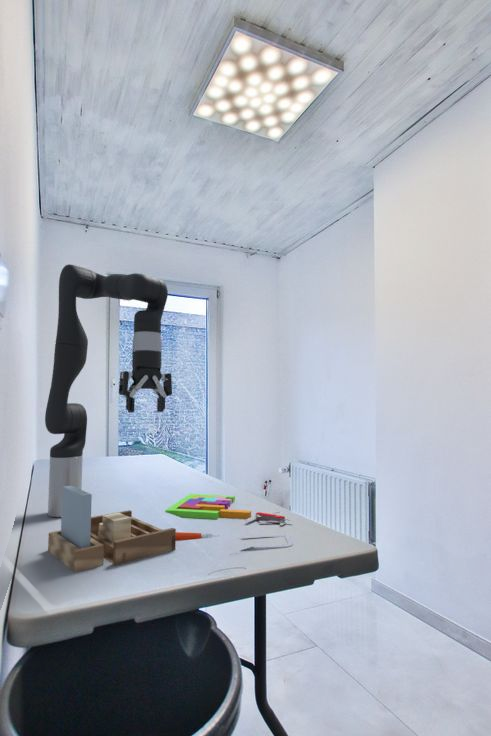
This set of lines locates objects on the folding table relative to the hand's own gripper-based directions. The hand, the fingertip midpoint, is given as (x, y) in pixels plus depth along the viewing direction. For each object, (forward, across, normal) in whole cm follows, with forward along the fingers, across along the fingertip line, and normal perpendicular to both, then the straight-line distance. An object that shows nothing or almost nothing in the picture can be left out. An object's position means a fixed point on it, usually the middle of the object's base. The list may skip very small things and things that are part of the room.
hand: (145, 412), depth 112 cm
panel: (+30, +20, +8) cm, 37 cm away
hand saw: (+32, -11, +21) cm, 40 cm away
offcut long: (+30, +11, +7) cm, 33 cm away
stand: (+31, +20, +8) cm, 38 cm away
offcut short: (+26, +11, +8) cm, 29 cm away
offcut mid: (+28, +11, +6) cm, 31 cm away
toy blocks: (+32, -30, -8) cm, 44 cm away
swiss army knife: (+32, -33, +14) cm, 48 cm away
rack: (+31, +9, +7) cm, 33 cm away
